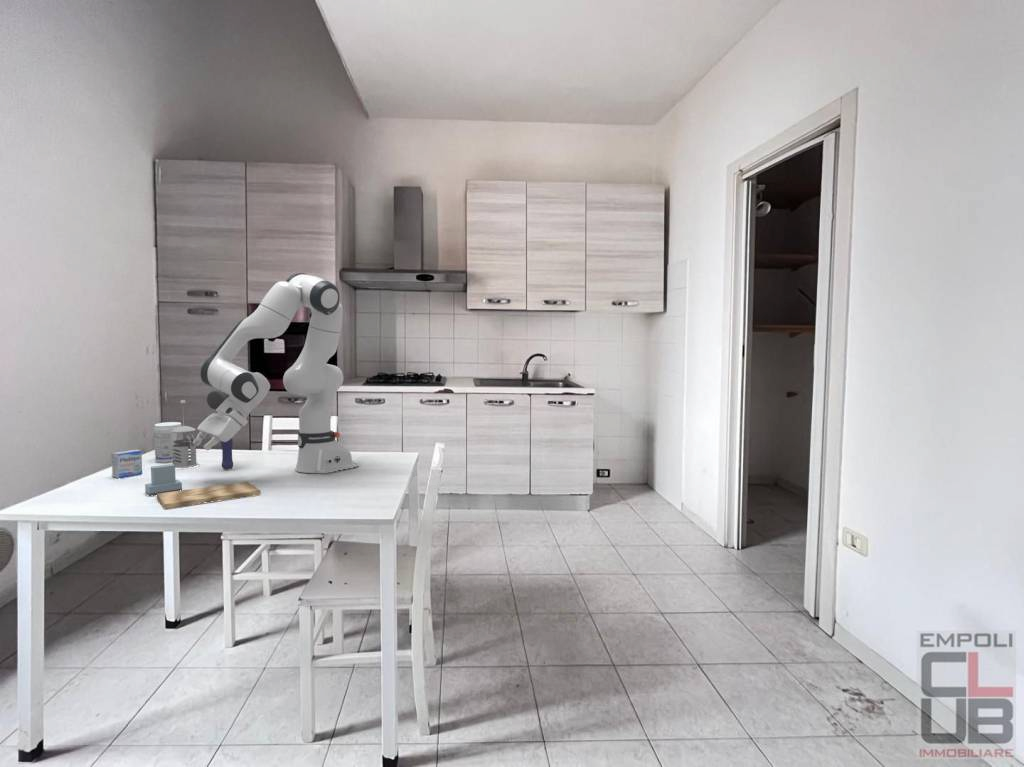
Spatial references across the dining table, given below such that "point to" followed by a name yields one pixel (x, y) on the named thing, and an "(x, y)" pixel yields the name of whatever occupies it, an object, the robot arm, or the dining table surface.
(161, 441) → the supplement tub
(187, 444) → the french press
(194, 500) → the oak board
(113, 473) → the medicine box
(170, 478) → the block
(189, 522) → the dining table surface
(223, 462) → the rubber mallet
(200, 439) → the robot arm
